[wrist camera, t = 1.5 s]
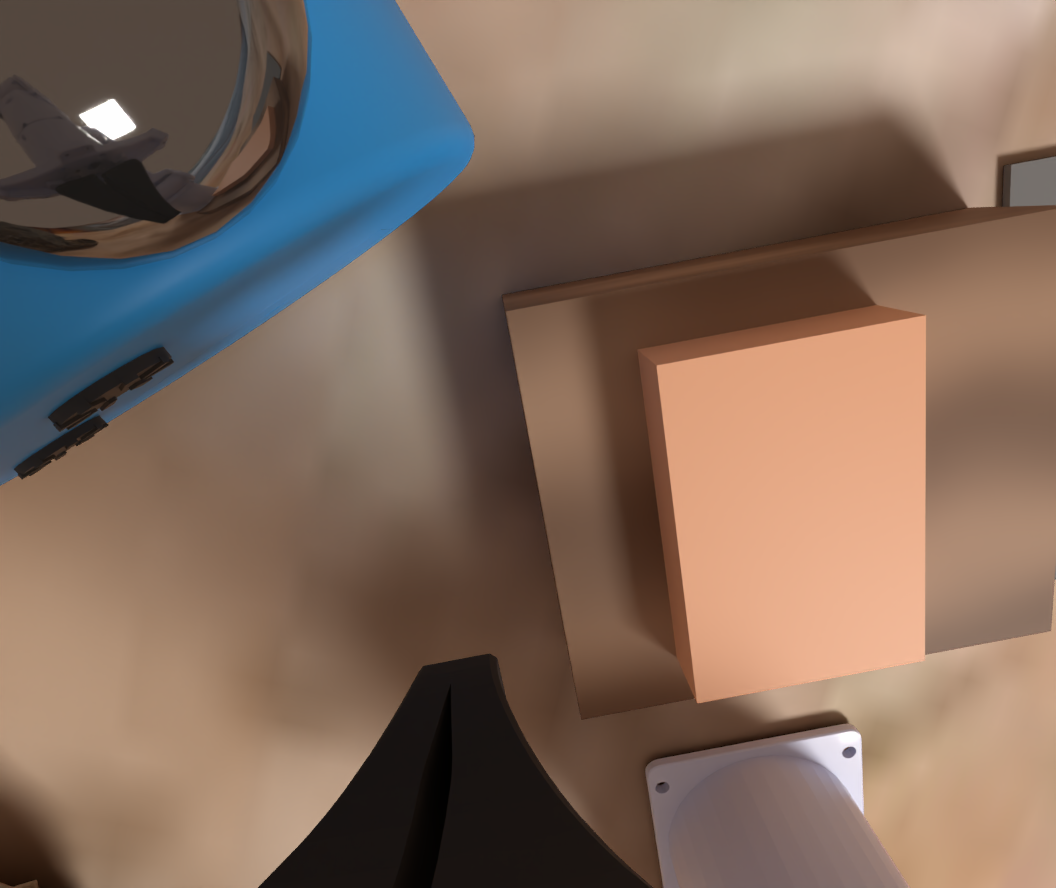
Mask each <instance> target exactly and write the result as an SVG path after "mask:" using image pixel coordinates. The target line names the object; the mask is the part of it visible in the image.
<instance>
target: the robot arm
mask: <svg viewBox="0 0 1056 888" xmlns="http://www.w3.org/2000/svg"><path fill="white" fill-rule="evenodd" d="M847 747H849V748H848V749H846V750H844V749H845V748H847ZM645 774H646V780H647V787H648V793H649V800H650V806H651V813H652V819H653V825H654V832H655V838H656V845H657V851H658V858H659V864H660V871H661V877H662V884H663V888H910V887H909V885H908V884H907V882H906V881H905V879H904V878H903V876H902V874H901V873H900V871H899V870H898V868H897V867H896V865H895V864H894V862H893V860H892V859H891V857H890V856H889V854H888V853H887V851H886V849H885V848H884V846H883V845H882V843H881V842H880V840H879V839H878V837H877V835H876V834H875V832H874V831H873V829H872V828H871V826H870V825H869V823H868V821H867V820H866V818H865V817H864V802H863V771H862V740H861V735H860V733H859V732H858V730H857V729H856V728H855V727H854V726H853V725H851V724H841V725H835V726H830V727H825V728H819V729H814V730H809V731H804V732H798V733H793V734H788V735H782V736H777V737H772V738H766V739H761V740H756V741H751V742H745V743H740V744H735V745H729V746H724V747H719V748H714V749H708V750H703V751H698V752H692V753H687V754H682V755H677V756H671V757H666V758H661V759H656V760H653V761H651V762H650V763H649V764H648V765H647V767H646V770H645ZM661 782H665V783H664V784H662V785H657V784H658V783H661ZM258 888H653V887H652V886H651V885H649V884H648V883H647V882H646V881H645V880H644V879H643V878H641V877H640V876H639V875H638V874H637V873H636V872H634V871H633V870H632V869H631V868H630V867H629V866H628V865H627V864H626V863H625V862H624V861H623V860H622V859H620V858H619V857H618V856H617V855H616V854H615V853H614V852H613V851H612V850H611V849H610V848H609V847H608V846H607V845H606V844H605V843H604V842H603V841H602V839H601V838H600V837H599V836H598V835H597V834H596V833H595V832H594V831H593V830H592V829H591V828H590V826H589V825H588V824H587V823H586V822H585V821H584V820H583V819H582V818H581V817H580V816H579V815H578V813H577V812H576V811H575V810H574V808H573V807H572V806H571V805H570V803H569V802H568V801H567V800H566V798H565V797H564V796H563V795H562V793H561V792H560V791H559V789H558V788H557V787H556V785H555V784H554V782H553V781H552V780H551V778H550V777H549V776H548V774H547V773H546V771H545V770H544V768H543V767H542V765H541V764H540V762H539V760H538V759H537V757H536V756H535V754H534V752H533V751H532V749H531V747H530V746H529V744H528V742H527V741H526V739H525V737H524V735H523V733H522V731H521V730H520V728H519V726H518V723H517V721H516V719H515V717H514V715H513V713H512V711H511V709H510V707H509V705H508V702H507V700H506V695H505V691H504V686H503V682H502V677H501V673H500V668H499V664H498V659H497V658H496V657H495V656H493V655H491V654H485V655H480V656H474V657H469V658H464V659H458V660H453V661H448V662H443V663H437V664H432V665H427V666H423V667H422V669H421V670H420V671H419V673H418V675H417V676H416V678H415V680H414V682H413V683H412V685H411V687H410V689H409V691H408V692H407V694H406V696H405V698H404V699H403V701H402V703H401V705H400V706H399V708H398V710H397V712H396V713H395V715H394V717H393V718H392V720H391V722H390V723H389V725H388V726H387V728H386V730H385V731H384V733H383V734H382V736H381V738H380V739H379V741H378V742H377V744H376V746H375V747H374V749H373V750H372V752H371V753H370V755H369V756H368V758H367V759H366V761H365V762H364V764H363V765H362V766H361V768H360V769H359V771H358V772H357V773H356V775H355V776H354V778H353V779H352V781H351V782H350V783H349V785H348V786H347V788H346V789H345V790H344V792H343V793H342V794H341V796H340V797H339V798H338V800H337V801H336V802H335V804H334V805H333V806H332V807H331V809H330V810H329V811H328V812H327V814H326V815H325V816H324V817H323V819H322V820H321V821H320V822H319V823H318V824H317V826H316V827H315V828H314V829H313V830H312V832H311V833H310V834H309V835H308V836H307V837H306V838H305V839H304V841H303V842H302V843H301V844H300V845H299V846H298V847H297V848H296V849H295V850H294V851H293V852H292V853H291V854H290V855H289V856H288V857H287V858H286V859H285V860H284V861H283V862H282V863H281V865H280V866H279V867H278V868H277V869H276V870H275V871H274V872H273V873H272V874H271V875H270V876H269V877H268V878H267V879H266V880H265V881H264V882H263V883H262V884H261V885H260V886H259V887H258Z"/></svg>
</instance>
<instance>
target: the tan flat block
mask: <svg viewBox="0 0 1056 888" xmlns="http://www.w3.org/2000/svg"><path fill="white" fill-rule="evenodd" d="M502 298H503V303H504V309H505V314H506V320H507V325H508V330H509V336H510V341H511V347H512V352H513V357H514V363H515V368H516V374H517V379H518V384H519V390H520V395H521V401H522V406H523V411H524V417H525V422H526V428H527V433H528V438H529V444H530V449H531V455H532V460H533V465H534V471H535V476H536V482H537V487H538V492H539V498H540V503H541V509H542V514H543V519H544V525H545V530H546V536H547V541H548V546H549V552H550V557H551V563H552V568H553V573H554V579H555V584H556V590H557V595H558V600H559V606H560V611H561V617H562V622H563V627H564V633H565V638H566V644H567V649H568V654H569V659H570V664H571V669H572V674H573V679H574V684H575V689H576V694H577V700H578V705H579V710H580V715H581V720H582V719H588V718H593V717H598V716H604V715H609V714H614V713H619V712H625V711H630V710H635V709H641V708H646V707H651V706H656V705H662V704H667V703H672V702H678V701H683V700H688V699H694V698H695V697H694V695H693V693H692V691H691V688H690V686H689V684H688V682H687V679H686V677H685V675H684V673H683V670H682V668H681V666H680V664H679V661H678V659H677V656H676V648H675V640H674V632H673V624H672V617H671V609H670V601H669V593H668V585H667V578H666V570H665V562H664V554H663V546H662V539H661V531H660V523H659V515H658V507H657V500H656V492H655V484H654V476H653V468H652V461H651V453H650V445H649V437H648V429H647V422H646V414H645V406H644V398H643V390H642V383H641V375H640V367H639V359H638V352H637V350H638V349H644V348H649V347H654V346H660V345H665V344H671V343H676V342H681V341H687V340H692V339H697V338H703V337H708V336H713V335H719V334H724V333H729V332H735V331H740V330H745V329H751V328H756V327H762V326H767V325H772V324H778V323H783V322H788V321H794V320H799V319H804V318H810V317H815V316H820V315H826V314H831V313H836V312H842V311H847V310H853V309H858V308H863V307H869V306H874V305H879V306H884V307H889V308H894V309H899V310H903V311H908V312H913V313H918V314H923V315H926V492H925V655H927V654H932V653H937V652H942V651H948V650H953V649H958V648H964V647H969V646H974V645H980V644H985V643H990V642H995V641H1001V640H1006V639H1011V638H1017V637H1022V636H1027V635H1032V634H1038V633H1043V632H1048V631H1051V624H1052V609H1053V595H1054V580H1055V566H1056V205H1043V206H1012V207H980V208H966V209H960V210H955V211H950V212H944V213H939V214H934V215H928V216H923V217H917V218H912V219H907V220H901V221H896V222H891V223H885V224H880V225H874V226H869V227H864V228H858V229H853V230H848V231H842V232H837V233H832V234H826V235H821V236H815V237H810V238H805V239H799V240H794V241H789V242H783V243H778V244H773V245H767V246H762V247H756V248H751V249H746V250H740V251H735V252H730V253H724V254H719V255H714V256H708V257H703V258H697V259H692V260H687V261H681V262H676V263H671V264H665V265H660V266H654V267H649V268H644V269H638V270H633V271H628V272H622V273H617V274H612V275H606V276H601V277H595V278H590V279H585V280H579V281H574V282H569V283H563V284H558V285H553V286H547V287H542V288H536V289H531V290H526V291H520V292H515V293H510V294H504V295H502Z"/></svg>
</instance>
